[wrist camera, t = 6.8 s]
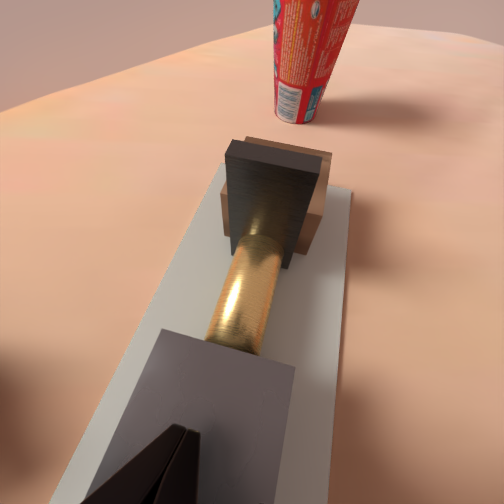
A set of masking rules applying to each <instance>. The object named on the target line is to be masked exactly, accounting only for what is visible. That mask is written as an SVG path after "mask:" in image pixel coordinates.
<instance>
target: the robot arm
mask: <svg viewBox="0 0 504 504" xmlns="http://www.w3.org/2000/svg"><path fill="white" fill-rule="evenodd" d="M200 446H201V433H200V431H197V430H194V429H191V428H188V429H186V427H185V426H182V425H179V424H175V423H174V424H172V425H170V426H169V427H168V428H167V429H166V430H165V431H163V432H162V433H161V434H160V435H159V436H158V437H156V438H155V439H154V440H153V441H152V442H151V443H149V444H148V445H147V446H146V447H145V448H144V449H143V450H141V451H140V452H139V453H138V454H137V455H136V456H134V457H133V458H132V459H131V460H130V461H129V462H127V463H126V464H125V465H124V466H123V467H122V468H120V469H119V470H118V471H117V472H116V473H115V474H113V475H112V476H111V477H110V478H109V479H108V480H107V481H105V482H104V483H103V484H102V485H101V486H100V487H98V488H97V489H96V490H95V491H94V492H93V493H91V494H90V495H89V496H88V497H87V498H86V499H84V500H83V501H82V502H81V503H80V504H198V489H199V468H200Z"/></svg>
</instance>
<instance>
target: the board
mask: <svg viewBox="0 0 504 504" xmlns="http://www.w3.org/2000/svg"><path fill="white" fill-rule="evenodd" d="M225 181H226V166H225V163H221V164H220V166H219V168H218V170H217V172H216V174H215V176H214V178H213V180H212V182H211V184H210V186H209V188H208V190H207V192H206V194H205V196H204V198H203V200H202V202H201V204H200V206H199V208H198V210H197V212H196V213H195V215H194V217H193V219H192V221H191V223H190V225H189V227H188V229H187V231H186V233H185V235H184V237H183V239H182V241H181V243H180V245H179V247H178V249H177V251H176V253H175V255H174V257H173V259H172V261H171V263H170V265H169V267H168V269H167V271H166V273H165V275H164V277H163V279H162V281H161V283H160V285H159V287H158V289H157V291H156V292H155V294H154V296H153V298H152V300H151V302H150V304H149V306H148V308H147V310H146V312H145V314H144V316H143V318H142V320H141V322H140V324H139V326H138V328H137V330H136V332H135V334H134V336H133V338H132V340H131V342H130V344H129V346H128V348H127V350H126V352H125V354H124V356H123V358H122V360H121V362H120V364H119V366H118V368H117V370H116V371H115V373H114V375H113V377H112V379H111V381H110V383H109V385H108V387H107V389H106V391H105V393H104V395H103V397H102V399H101V401H100V403H99V405H98V407H97V409H96V411H95V413H94V415H93V417H92V419H91V421H90V423H89V425H88V427H87V429H86V431H85V433H84V435H83V437H82V439H81V441H80V443H79V445H78V447H77V448H76V450H75V452H74V454H73V456H72V458H71V460H70V462H69V464H68V466H67V468H66V470H65V472H64V474H63V476H62V478H61V480H60V482H59V484H58V486H57V488H56V490H55V492H54V494H53V496H52V498H51V500H50V502H49V504H80V503H81V502H82V501H83V500H84V498H85V496H86V494H87V492H88V489H89V487H90V485H91V483H92V481H93V478H94V476H95V474H96V472H97V470H98V467H99V465H100V463H101V461H102V459H103V456H104V454H105V452H106V450H107V448H108V445H109V443H110V441H111V439H112V437H113V434H114V432H115V430H116V428H117V426H118V423H119V421H120V419H121V417H122V415H123V412H124V410H125V408H126V406H127V404H128V401H129V399H130V397H131V395H132V393H133V390H134V388H135V386H136V384H137V382H138V379H139V377H140V375H141V373H142V371H143V368H144V366H145V364H146V362H147V360H148V357H149V355H150V353H151V351H152V349H153V346H154V344H155V342H156V340H157V338H158V335H159V333H160V331H161V329H162V328H163V329H166V330H170V331H173V332H176V333H180V334H183V335H187V336H190V337H194V338H197V339H201V340H204V337H205V335H206V332H207V329H208V326H209V323H210V321H211V318H212V315H213V312H214V309H215V307H216V304H217V301H218V298H219V295H220V293H221V290H222V287H223V284H224V281H225V279H226V276H227V273H228V270H229V267H230V265H231V262H232V259H233V256H231V245H230V237H227V236H224V229H223V219H222V208H221V198H220V192H221V190H222V188H223V186H224V184H225ZM350 202H351V190H350V189H345V188H340V187H335V186H330V185H327V192H326V198H325V205H324V212H323V217H322V219H321V222H320V224H319V226H318V229H317V231H316V234H315V236H314V238H313V241H312V243H311V245H310V248H309V250H308V253H307V255H302V254H298V253H294V252H293V255H292V258H291V262H290V265H289V268H288V270H287V269H283V268H280V272H279V276H278V280H277V284H276V289H275V293H274V297H273V302H272V306H271V310H270V314H269V319H268V323H267V327H266V331H265V336H264V340H263V344H262V349H261V353H260V357H263V358H266V359H270V360H273V361H277V362H280V363H284V364H287V365H291V366H294V367H296V368H295V374H294V380H293V387H292V393H291V399H290V405H289V412H288V418H287V424H286V431H285V437H284V443H283V449H282V456H281V462H280V468H279V475H278V481H277V487H276V494H275V500H274V504H327V503H328V490H329V477H330V464H331V451H332V438H333V424H334V411H335V398H336V385H337V372H338V359H339V346H340V333H341V320H342V307H343V293H344V280H345V267H346V254H347V241H348V228H349V215H350Z"/></svg>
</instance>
